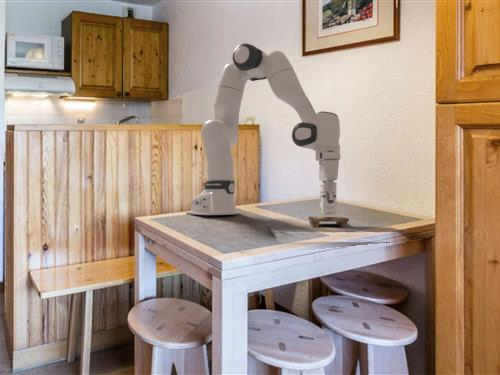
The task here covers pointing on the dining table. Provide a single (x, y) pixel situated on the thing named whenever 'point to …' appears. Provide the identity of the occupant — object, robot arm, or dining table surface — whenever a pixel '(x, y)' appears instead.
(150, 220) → the dining table surface
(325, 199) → the ink box
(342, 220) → the stand
